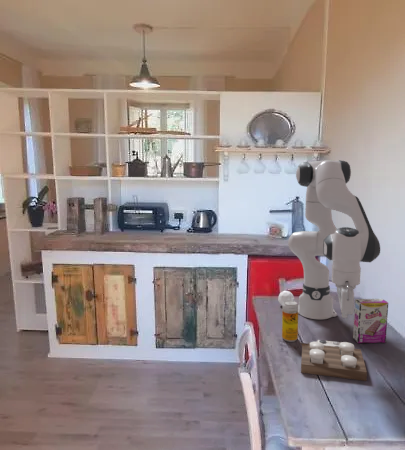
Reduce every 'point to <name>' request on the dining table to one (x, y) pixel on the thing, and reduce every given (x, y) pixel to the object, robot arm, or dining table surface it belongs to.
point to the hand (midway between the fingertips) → (344, 316)
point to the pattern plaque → (329, 343)
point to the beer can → (290, 321)
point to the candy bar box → (370, 320)
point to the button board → (333, 364)
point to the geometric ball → (285, 297)
